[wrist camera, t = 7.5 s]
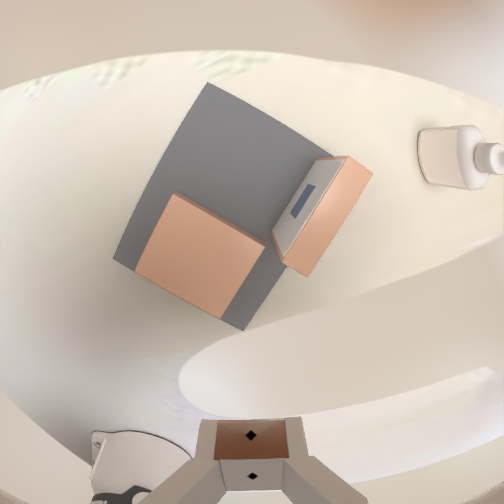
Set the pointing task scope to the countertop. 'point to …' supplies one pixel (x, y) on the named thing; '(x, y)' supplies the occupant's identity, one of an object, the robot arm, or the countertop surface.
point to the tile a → (198, 255)
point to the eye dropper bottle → (458, 157)
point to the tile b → (318, 211)
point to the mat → (227, 184)
